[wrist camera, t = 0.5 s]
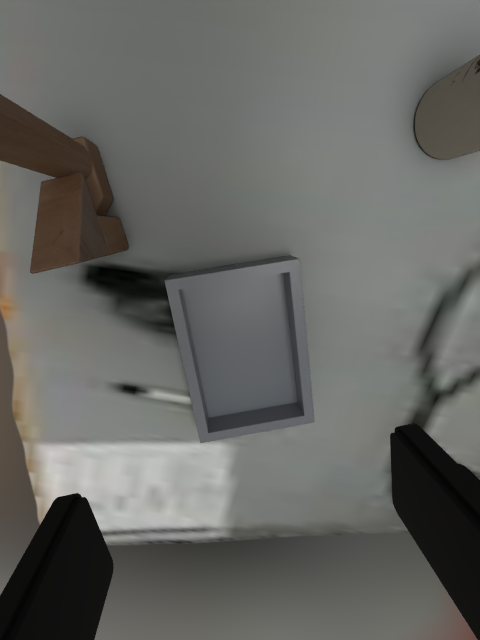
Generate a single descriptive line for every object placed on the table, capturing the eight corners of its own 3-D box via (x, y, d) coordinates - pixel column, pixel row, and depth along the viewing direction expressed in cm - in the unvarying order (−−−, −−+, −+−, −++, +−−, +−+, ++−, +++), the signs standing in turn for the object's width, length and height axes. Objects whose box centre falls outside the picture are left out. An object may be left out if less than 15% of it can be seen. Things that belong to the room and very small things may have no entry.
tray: (169, 275, 37) (164, 280, 33) (290, 255, 38) (299, 258, 34) (201, 423, 43) (200, 443, 39) (305, 405, 44) (314, 422, 40)
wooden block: (98, 256, 36) (-6, 284, 19) (63, 152, 33) (-104, 70, 15) (130, 249, 36) (56, 270, 19) (98, 144, 33) (-29, 54, 15)
